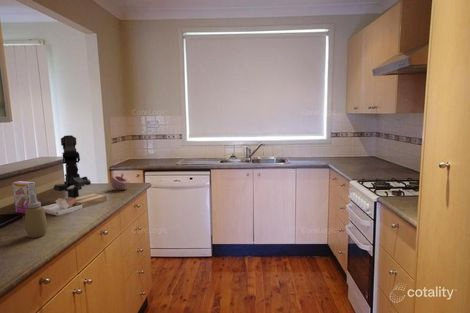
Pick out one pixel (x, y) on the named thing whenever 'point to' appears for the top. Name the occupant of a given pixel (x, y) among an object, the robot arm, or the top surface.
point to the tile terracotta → (70, 201)
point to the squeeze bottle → (35, 219)
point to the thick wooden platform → (89, 200)
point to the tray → (60, 209)
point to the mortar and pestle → (119, 182)
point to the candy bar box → (23, 195)
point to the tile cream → (62, 203)
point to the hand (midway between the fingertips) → (74, 199)
